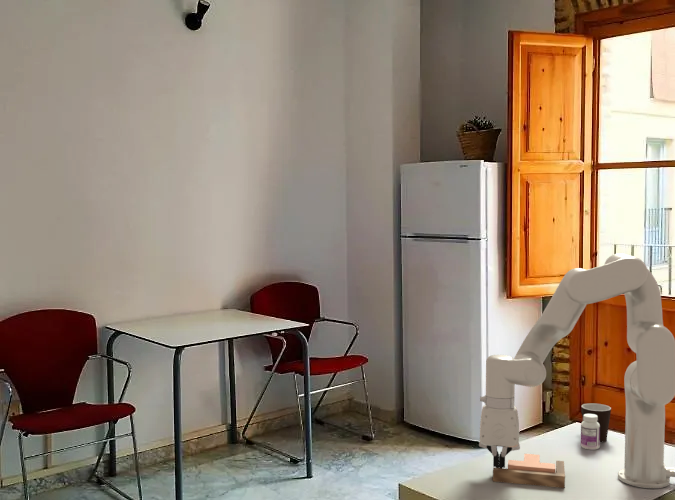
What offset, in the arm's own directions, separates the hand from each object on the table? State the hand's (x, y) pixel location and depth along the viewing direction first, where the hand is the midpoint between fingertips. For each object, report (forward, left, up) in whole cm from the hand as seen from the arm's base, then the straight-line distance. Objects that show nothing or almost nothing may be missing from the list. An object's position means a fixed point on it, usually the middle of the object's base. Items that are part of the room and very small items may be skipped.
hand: (499, 469), depth 205 cm
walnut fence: (-8, -1, -1) cm, 8 cm away
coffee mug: (-27, -40, -2) cm, 49 cm away
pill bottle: (-25, -30, -2) cm, 39 cm away
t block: (-8, -2, -1) cm, 9 cm away
